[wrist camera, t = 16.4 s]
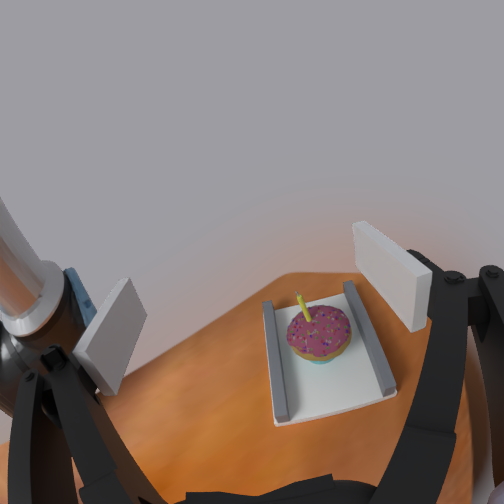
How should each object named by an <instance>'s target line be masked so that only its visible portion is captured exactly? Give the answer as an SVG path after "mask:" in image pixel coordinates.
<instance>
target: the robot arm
mask: <svg viewBox="0 0 504 504" xmlns="http://www.w3.org/2000/svg"><path fill="white" fill-rule="evenodd" d="M352 227H353V236H354V247H355V259H356V267H357V268H358V269H359V270H360V272H361V273H362V274H363V275H364V276H365V277H366V278H367V280H368V281H369V282H370V283H371V284H372V285H373V287H374V288H375V289H376V290H377V291H378V293H379V294H380V295H381V296H382V297H383V299H384V300H385V301H386V302H387V303H388V305H389V306H390V307H391V308H392V309H393V311H394V312H395V313H396V314H397V316H398V317H399V318H400V319H401V321H402V322H403V323H404V324H405V326H406V327H407V328H408V329H409V331H410V332H411V333H413V332H415V331H418V330H420V329H422V328H425V327H426V321H427V316H428V317H429V318H430V319H431V320H432V325H431V331H430V336H429V341H428V345H427V350H426V354H425V359H424V363H423V367H422V371H421V375H420V378H419V382H418V385H417V389H416V392H415V396H414V399H413V402H412V405H411V408H410V411H409V414H408V417H407V420H406V423H405V425H404V428H403V431H402V433H401V436H400V438H399V441H398V443H397V446H396V448H395V451H394V453H393V455H392V458H391V460H390V462H389V464H388V466H387V469H386V471H385V473H384V475H383V477H382V479H381V481H380V483H379V485H378V487H375V486H373V485H370V484H367V483H363V482H359V481H352V480H333V477H332V474H328V475H324V476H320V477H316V478H312V479H307V480H303V481H298V482H294V483H292V484H289V485H287V486H284V487H282V488H279V489H277V490H274V491H271V492H269V493H266V494H263V495H260V496H247V495H239V494H231V493H225V492H186V500H183V501H180V502H177V503H175V504H436V502H437V499H438V497H439V494H440V491H441V489H442V486H443V483H444V480H445V477H446V474H447V471H448V468H449V465H450V462H451V458H452V455H453V451H454V447H455V443H456V434H455V433H454V429H455V424H456V420H457V415H458V410H459V404H460V399H461V392H462V386H463V378H464V370H465V360H466V348H467V347H466V346H467V330H468V328H467V327H468V326H470V325H471V329H472V332H473V336H474V339H475V343H476V347H477V351H478V355H479V360H480V364H481V369H482V374H483V379H484V384H485V389H486V396H487V402H488V410H489V418H490V428H491V442H492V465H493V478H494V484H495V489H494V490H493V492H492V493H491V495H490V497H489V500H488V503H487V504H504V271H503V270H502V269H501V268H499V267H497V266H494V265H487V266H484V267H482V268H481V269H480V272H479V277H478V278H471V279H466V277H465V276H464V275H463V274H462V273H460V272H457V271H445V272H444V271H443V270H442V269H441V268H439V267H438V266H437V265H435V264H434V263H432V262H430V260H429V259H427V258H425V257H424V256H423V255H422V254H421V253H419V252H417V251H414V250H411V249H410V250H406V251H405V250H404V249H403V248H401V247H400V246H399V245H398V244H396V243H395V242H393V241H392V240H391V239H389V238H388V237H386V236H385V235H384V234H382V233H381V232H380V231H378V230H377V229H376V228H374V227H373V226H371V225H370V224H368V223H367V222H366V221H360V222H356V223H352ZM0 310H1V317H2V321H0V409H1V410H2V411H3V412H5V413H6V414H7V415H9V416H10V417H12V418H13V420H12V427H11V435H10V445H9V457H8V504H78V499H77V493H76V488H75V482H74V475H73V467H72V459H71V457H73V460H74V462H75V465H76V467H77V470H78V472H79V475H80V477H81V479H82V482H83V484H84V487H82V488H80V489H79V495H80V498H81V500H82V502H83V504H168V503H167V502H166V501H164V500H163V498H162V497H161V496H160V495H159V494H158V492H157V491H156V490H155V488H154V487H153V486H152V484H151V483H150V482H149V480H148V479H147V478H146V476H145V475H144V473H143V472H142V471H141V469H140V468H139V466H138V465H137V463H136V462H135V460H134V459H133V457H132V456H131V454H130V453H129V451H128V449H127V448H126V446H125V444H124V443H123V441H122V440H121V438H120V436H119V434H118V433H117V431H116V429H115V428H114V426H113V424H112V422H111V420H110V418H109V417H108V415H107V413H106V411H105V409H104V407H103V405H102V403H101V401H100V399H99V398H98V396H97V395H96V394H95V392H96V389H97V388H98V389H99V390H100V391H101V393H102V394H103V395H104V396H114V395H117V393H118V390H119V387H120V385H121V382H122V379H123V376H124V373H125V371H126V368H127V365H128V363H129V360H130V357H131V355H132V352H133V350H134V347H135V344H136V342H137V339H138V337H139V334H140V332H141V329H142V327H143V324H144V322H145V319H146V317H147V314H146V312H145V310H144V308H143V305H142V303H141V301H140V299H139V297H138V295H137V293H136V290H135V288H134V286H133V284H132V281H131V279H130V278H125V279H121V280H119V281H118V282H117V284H116V285H115V287H114V288H113V290H112V291H111V293H110V294H109V296H108V297H107V298H106V300H105V301H104V303H103V305H102V306H101V308H100V309H99V310H98V312H97V310H96V308H95V306H94V305H93V303H92V301H91V299H90V298H89V295H88V294H87V292H86V290H85V288H84V286H83V284H82V282H81V280H80V278H79V276H78V274H77V272H76V271H75V269H74V268H68V269H65V270H64V271H62V270H61V269H60V268H59V266H58V265H57V264H56V263H54V262H52V261H41V260H40V259H39V258H38V256H37V255H36V253H35V252H34V250H33V249H32V248H31V246H30V245H29V243H28V242H27V240H26V239H25V237H24V236H23V234H22V233H21V231H20V230H19V228H18V226H17V225H16V224H15V222H14V220H13V219H12V217H11V215H10V213H9V212H8V210H7V209H6V207H5V205H4V203H3V201H2V200H1V198H0Z"/></svg>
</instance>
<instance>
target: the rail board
mask: <svg viewBox="0 0 504 504" xmlns="http://www.w3.org/2000/svg"><path fill="white" fill-rule="evenodd" d="M343 286H344V293H343V294H339V295H335V296H332V297H328V298H324V299H320V300H316V301H312V302H308V303H305V304H306V307H307V308H308V307H312V306H315V305H323V304H324V305H325V306H333V307H335V308H337V309H340V310H342V311H343V312H344V314H345V315H346V316H347V317H348V319H349V322H350V325H351V329H352V337H351V342H350V344H349V345H348V347H347V348H346V349H345V350H344V352H343V353H342V354H341V355H339V356H337V357H335V358H334V359H333V360H332V361H330V362H328V363H326V364H314V363H312V362H310V361H309V360H305V359H303V358H302V357H300V356H298V355H297V354H296V353H295V352H294V351H293V349H292V347H291V346H290V345H289V344H288V342H287V338H286V337H287V336H286V335H287V330H288V329H287V328H288V327H289V325H290V323H291V321H292V318H293V319H294V317H296V315H297V314H298V313H300V312H302V309H301V307H300V305H296V306H291V307H287V308H283V309H278V310H274V307H273V304H272V300H270V301H265V302H262V303H263V312H264V313H263V318H264V328H265V337H266V347H267V357H268V366H269V376H270V386H271V395H272V405H273V415H274V424H275V426H276V427H278V426H284V425H289V424H295V423H300V422H305V421H310V420H315V419H319V418H323V417H328V416H332V415H336V414H340V413H343V412H347V411H351V410H354V409H358V408H361V407H364V406H368V405H371V404H374V403H377V402H380V401H383V400H386V399H389V398H392V397H395V396H396V394H397V390H396V386H397V385H396V382H395V379H394V377H393V374H392V371H391V369H390V366H389V364H388V361H387V359H386V356H385V354H384V351H383V349H382V347H381V344H380V342H379V339H378V337H377V335H376V332H375V330H374V328H373V325H372V323H371V321H370V318H369V316H368V314H367V312H366V309H365V307H364V305H363V303H362V301H361V299H360V296H359V294H358V292H357V290H356V288H355V286H354V284H353V281H352V280H350V281H347V282H343Z"/></svg>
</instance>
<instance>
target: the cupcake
mask: <svg viewBox="0 0 504 504" xmlns="http://www.w3.org/2000/svg"><path fill="white" fill-rule="evenodd" d="M295 293H296V294H297V300H298V302H299V304H300V307H301V309H302V312H300V313H298V314H297V315H296V317H294V319H293V318H292V321H291V323H290V325H289V327H288V328H287V329H288V330H287V335H286V336H287V337H286V338H287V342H288V344H289V345H290V346H291V347H292V349H293V351H294V352H295V353H296V354H297V355H298V356H300V357H302V358H303V359H305V360H309V361H310V362H312V363H314V364H326V363H328V362H330V361H332V360H333V359H334V358H335V357H337V356H339V355H341V354H342V353H343V352H344V350H345V349H346V348H347V347H348V345H349V344H350V342H351V337H352V329H351V325H350V322H349V319H348V317H347V316H346V315H345V314H344V312H343V311H342V310H340V309H337V308H335V307H333V306H325V305H324V304H323V305H315V306H312V307H308V308H307V307H306V304H305V302H304V300H303V297H302V295H300V294H298V292H297V291H295Z"/></svg>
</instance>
